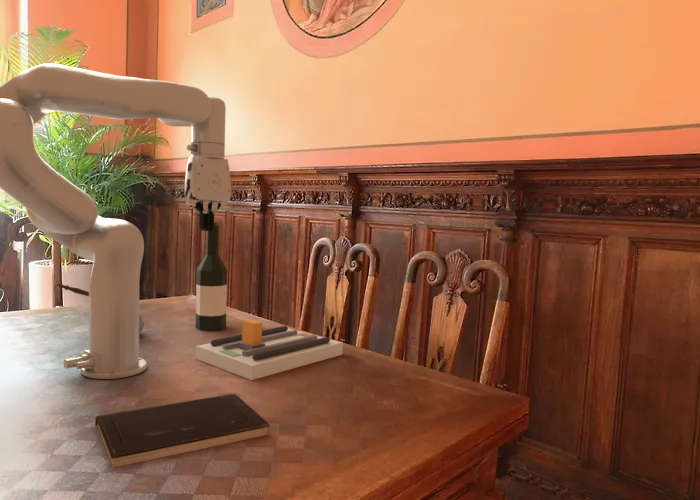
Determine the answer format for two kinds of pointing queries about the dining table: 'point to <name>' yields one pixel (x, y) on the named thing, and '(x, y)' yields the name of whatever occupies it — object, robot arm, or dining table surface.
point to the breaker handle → (251, 335)
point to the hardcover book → (178, 428)
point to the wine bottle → (211, 287)
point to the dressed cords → (274, 351)
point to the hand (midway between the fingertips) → (206, 230)
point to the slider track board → (245, 366)
